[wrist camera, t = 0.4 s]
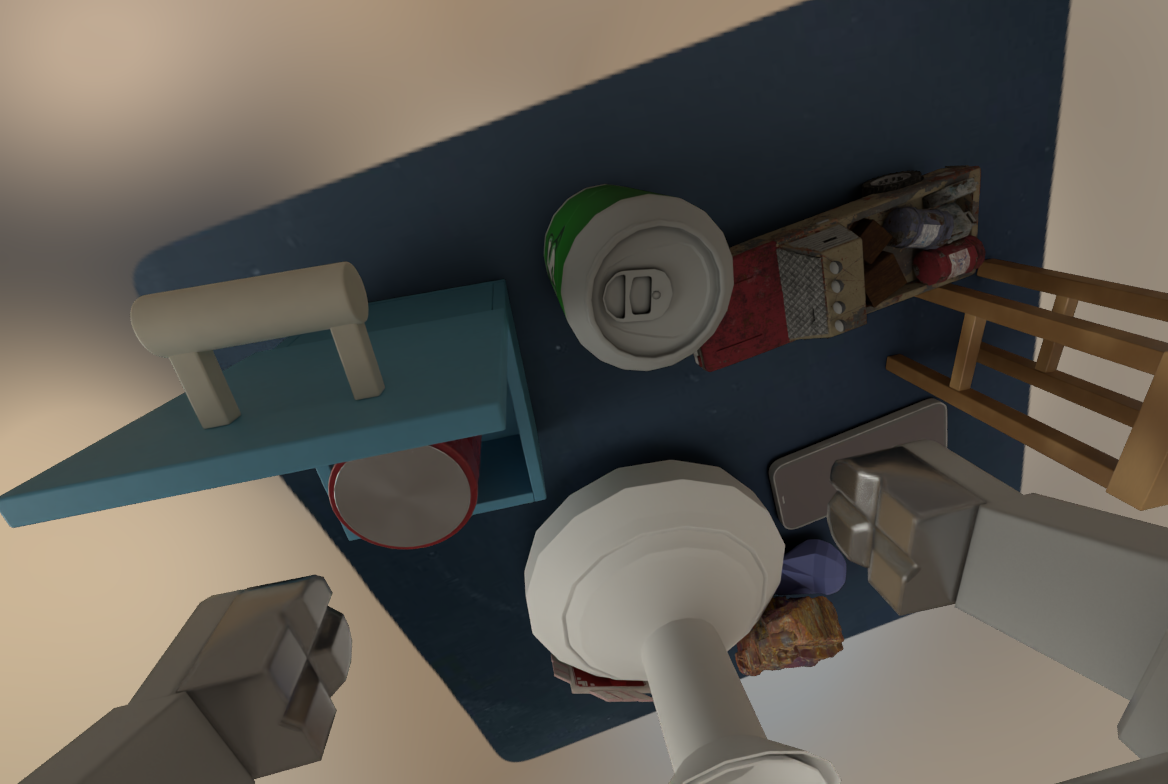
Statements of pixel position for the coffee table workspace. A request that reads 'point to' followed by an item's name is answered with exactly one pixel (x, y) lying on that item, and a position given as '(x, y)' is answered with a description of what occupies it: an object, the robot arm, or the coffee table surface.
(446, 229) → the coffee table surface
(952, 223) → the toy vehicle
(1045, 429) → the stool
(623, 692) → the decorative emblem
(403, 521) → the red canister
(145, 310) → the lid
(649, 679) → the candle holder
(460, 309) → the box
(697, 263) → the soda can
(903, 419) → the smartphone
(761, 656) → the mineral specimen
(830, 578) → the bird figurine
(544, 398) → the coffee table surface
